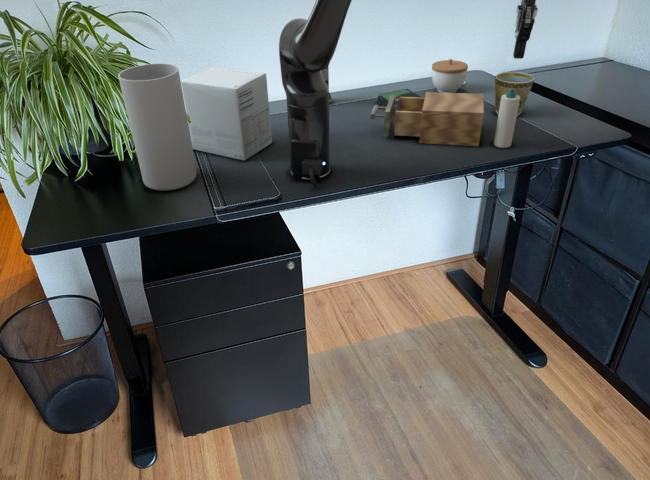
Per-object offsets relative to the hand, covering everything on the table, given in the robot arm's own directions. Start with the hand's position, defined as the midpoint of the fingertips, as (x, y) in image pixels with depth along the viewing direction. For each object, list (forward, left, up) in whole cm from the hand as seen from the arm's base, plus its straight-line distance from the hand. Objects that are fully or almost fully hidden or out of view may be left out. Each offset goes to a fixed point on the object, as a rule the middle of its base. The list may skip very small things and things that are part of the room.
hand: (518, 57), depth 124 cm
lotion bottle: (0, 0, -21) cm, 21 cm away
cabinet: (+5, +13, -21) cm, 25 cm away
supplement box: (-11, +68, -21) cm, 72 cm away
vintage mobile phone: (+25, +52, -21) cm, 61 cm away
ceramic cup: (+24, -3, -21) cm, 32 cm away
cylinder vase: (-32, +76, -21) cm, 85 cm away
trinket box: (+41, +15, -21) cm, 49 cm away
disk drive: (+24, +27, -21) cm, 42 cm away
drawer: (+5, +25, -20) cm, 32 cm away
